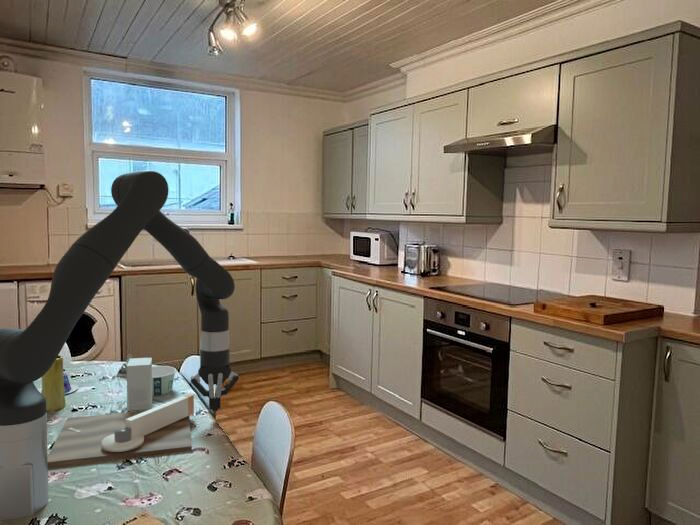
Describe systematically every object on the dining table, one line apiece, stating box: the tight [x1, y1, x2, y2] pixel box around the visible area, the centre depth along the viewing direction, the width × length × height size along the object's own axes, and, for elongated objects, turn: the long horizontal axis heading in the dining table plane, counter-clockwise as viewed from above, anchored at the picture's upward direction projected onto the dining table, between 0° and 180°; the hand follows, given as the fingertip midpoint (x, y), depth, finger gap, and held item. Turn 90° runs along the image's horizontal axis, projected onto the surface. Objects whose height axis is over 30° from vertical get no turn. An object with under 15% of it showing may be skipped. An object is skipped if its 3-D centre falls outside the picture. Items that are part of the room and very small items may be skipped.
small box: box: [126, 357, 153, 412], centre depth 151 cm, size 8×6×13 cm
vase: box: [41, 354, 66, 412], centre depth 148 cm, size 6×6×14 cm
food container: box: [152, 365, 177, 397], centre depth 163 cm, size 12×12×6 cm
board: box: [48, 410, 193, 469], centre depth 130 cm, size 26×30×2 cm
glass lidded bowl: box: [116, 353, 133, 378], centre depth 181 cm, size 9×9×8 cm
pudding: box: [37, 372, 79, 395], centre depth 162 cm, size 12×12×5 cm
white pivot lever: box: [102, 393, 195, 452], centre depth 130 cm, size 26×9×5 cm, turn 154°
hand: (214, 410), depth 141 cm, fingers closed
